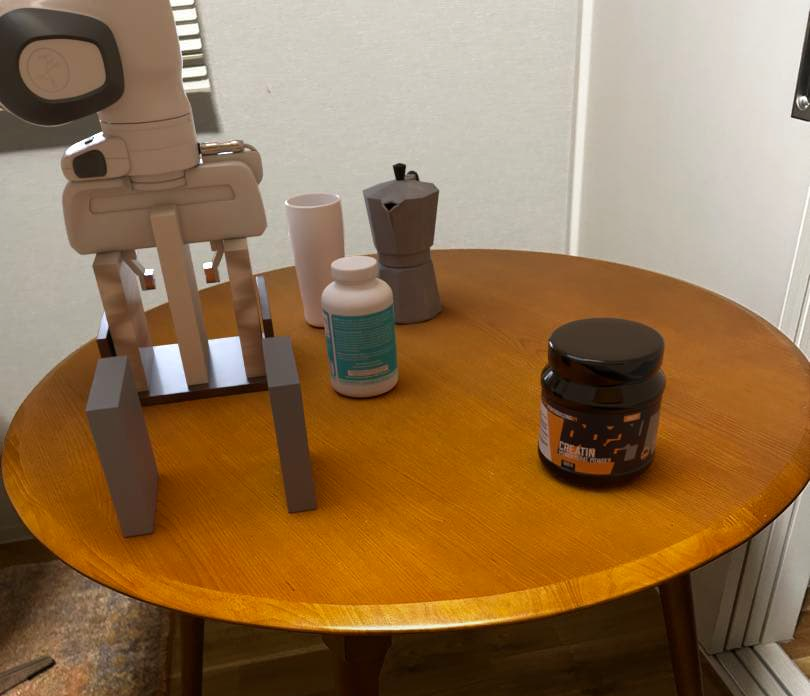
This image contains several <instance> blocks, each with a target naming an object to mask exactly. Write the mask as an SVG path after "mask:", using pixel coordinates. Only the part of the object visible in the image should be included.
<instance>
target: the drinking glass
mask: <svg viewBox="0 0 810 696" xmlns="http://www.w3.org/2000/svg"><path fill="white" fill-rule="evenodd" d="M284 205H285V216H286V218H285V219H286V227H287V233H288V239H289V245H290V250H291V255H292V259H293V264H294V267H295V273H296V277H297V282H298V286H299V291H300V296H301V302H302V306H303V307H302V308H303V315H304V320H305V322H306V323H307V324H308V325H309V326H312V327H315V328H325V327H324V318H323V310H322V301H321V297H322V293H323V291H324V289H325V288H326V287H327V286H328V285H329V284H331V283H332V282H334V281H335V280H334V279H333V277H332V271H331V264H332V262H334V261H335V260H337V259H340V258H344V257H346V244H345V243H346V240H345V239H346V238H345V222H344V221H345V220H344V213H343V205H342V198H341V196H340V195H339V194H336V193H333V192H327V191H326V192H323V191H321V192H320V191H317V192H316V191H315V192H306V193H305V192H304V193H300V194H296V195H294V196H290V197H288V198H287V199H286V200H285V202H284Z"/></svg>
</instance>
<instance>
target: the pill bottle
mask: <svg viewBox="0 0 810 696" xmlns="http://www.w3.org/2000/svg"><path fill="white" fill-rule="evenodd" d="M377 261H378V259H377V258H375V257H372V256H368V255H351V256H345V257H344V258H340V259H337V260H335V261H334V262H332V264H331V271H332V277H333V279H334V280H335V281H334V282H332V283H331V284H329V285H328V286H327V287H326V288H325V289H324V291H323V293H322V297H321V301H322V310H323V318H324V327H323V328H324V334H325V343H326V351H327V361H328V370H329V377H330V383H331V386H332V388H333V389H334V391H336V392H337V393H338V394H341V395H343V396H345V397H350V398H371V397H376V396H379V395H382V394H385V393H387V392H389V391H391V390H392V389H394V388H395V386H396V385H397V383H398V381H399V368H398V367H399V365H398V364H399V363H398V351H397V337H396V335H397V334H396V324H395V320H394V304H393V293H392V290H391V288H390V286H389V285H388V284H387V283H386V282H384V281H383V280H381V279H378V278H376V276H377V273H378V267H377Z"/></svg>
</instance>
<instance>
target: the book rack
mask: <svg viewBox="0 0 810 696" xmlns="http://www.w3.org/2000/svg"><path fill="white" fill-rule="evenodd" d="M224 258H225V265H226V270H227V274H228V280H229V286H230V287H229V288H230V293H231V298H232V305H233V310H234V316H235V322H236V326H237V327H236V328H237V332H238V336H229V337H221V338H214V339H208V343H209V383H204V384H196V385H187V383H186V378H185V374H184V369H183V365H182V360H181V356H180V351H179V347H178V343H173V344H163V345H156V346H153V341H152V337H151V333H150V330H149V325H148V321H147V316H146V313H145V309H144V304H143V300H142V296H141V293H140V287H139V283H138V279H137V275H136V274H135V273H134V272H133V271H132V269H131V268H130V267H129V266H128V265H127V264H126V263H125V262H124V260H123V255H122V251H115V252H106V253H97V254H95V256H94V260H93V262H92V265H91V266H92V267H91V268H92V270H93V274H94V278H95V281H96V286H97V288H98V293H99V296H100V300H101V303H102V307H103V312H102V316H101V321H100V325H99V327H98V330H97V335H96V338H95V341H96V345H97V348H98V351H99V355H100V359H101V358H109V357H117V356H125V355H127V356H128V358H129V362H130V366H131V370H132V373H133V377H134V381H135V385H136V389H137V393H138V396H139V400H140V404H141V407H145V406H154V405H160V404H169V403H176V402H177V403H178V402H183V401H191V400H199V399H206V398H215V397H222V396H230V395H239V394H245V393H246V394H247V393H254V392H262V391H269V389H268V382H267V375H266V367H265V360H264V353H263V346H262V339H264V338H272V337H275V331H274V326H273V319H272V313H271V306H270V301H269V296H268V295H269V294H268V290H267V284H266V277H265V275H260V276H256V277H255V279H254V273H253V267H252V260H251V254H250V248H249V241H248V237H247V238H237V239H227V240H224ZM255 281H256V282H255ZM255 283H256V286H255ZM256 288H257V292H256ZM257 296H258V299H257ZM258 300H259V301H258ZM258 302H259V306H258ZM259 308H260V309H259ZM259 310H260V311H259ZM260 314H261V315H260ZM260 316H261V317H260ZM260 318H261V319H260ZM261 323H262V325H261Z"/></svg>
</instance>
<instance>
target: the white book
mask: <svg viewBox="0 0 810 696" xmlns="http://www.w3.org/2000/svg"><path fill="white" fill-rule="evenodd" d="M150 220H151V224H152V229H153V233H154V238H155V242H156V247H155V248H156V251H157V256H158V260H159V264H160V269H161V275H162V278H163V282H164V287H165V291H166V295H167V296H166V297H167V302H168V305H169V310H170V314H171V315H170V316H171V319H172V323H173V328H174V331H175V332H174V333H175V337H176V342H177V344H178V347H179V351H180V356H181V360H182V365H183V369H184V374H185V378H186V383H187V385H196V384H204V383H209V343H208V340H209V337H208V333H207V329H206V323H205V318H204V312H203V309H202V303H201V297H200V293H199V287H198V283H197V278H196V277H197V276H196V273H195V267H194V261H193V258H192V252H191V248H190V244H184V243H183V238H182V233H181V228H180V223H179V218H178V213H177V208H176V204H172V205H162V206H153V207H152V210H151V215H150Z"/></svg>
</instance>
